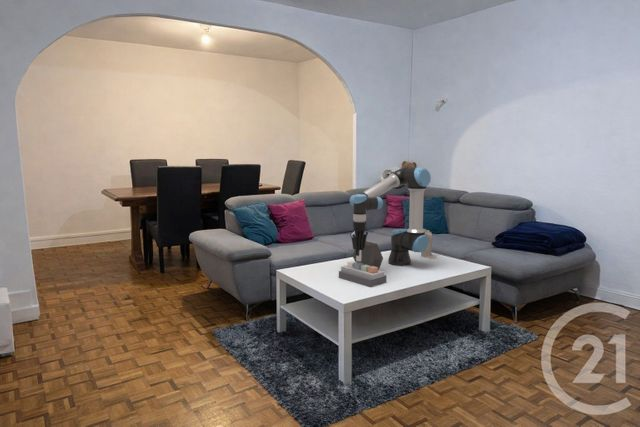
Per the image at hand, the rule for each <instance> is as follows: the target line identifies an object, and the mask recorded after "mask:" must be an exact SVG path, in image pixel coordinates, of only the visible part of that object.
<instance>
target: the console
mask: <svg viewBox="0 0 640 427" xmlns="http://www.w3.org/2000/svg"><path fill="white" fill-rule="evenodd" d="M338 278H339V279H342V280H345V281H349V282H352V283H356V284H359V285H361V286H364V287H367V288H372V287H376V286H378V285H382V284H385V283H387V275H386V274H385V271H383V270H380V269H379V270H378V273H374V274H373V273H369V272H368V271H367V272H365V271H362V270H361V269H360V270H358V269H354V268H351V267H347V264H346V265H341V267H340V270H339V271H338Z"/></svg>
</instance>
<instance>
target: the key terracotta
mask: <svg viewBox="0 0 640 427" xmlns="http://www.w3.org/2000/svg"><path fill="white" fill-rule="evenodd" d="M368 272H369V273H373V274H374V273H378V267H375V266H371V267H368Z"/></svg>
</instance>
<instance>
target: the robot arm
mask: <svg viewBox="0 0 640 427" xmlns="http://www.w3.org/2000/svg"><path fill="white" fill-rule="evenodd" d="M431 177H432V176H431V173H430V172H429V170H428V169H427V168H425V167H420V166H404V167H400V168H399V169H396V170H394V171H393V172H391V173H390V174H388V177H386V178H385V179H384V178H383V180H381V181H379V182H378V183H376V184H374V185H373V186H371V187H369V188H368V189H366V190H364V191H363V192H361V193H359V194H353V195H351V196H350V198H349V204H350V206H351V207H352V212H353V213H352V220H353V221H352V227H353V232H352V233H350V238H351V242H352V243H351V244H352V249H353V250H354V251H355V250H356V261H361V255H362V250H364V249H363V248H365V243H366V241H367V236H368V235H369V231H366V228H367V222H366V221H367V211H377V210H380V209H382V208H383V206H384V201H383V199H382V198H381V197H380V196H382V195H384V194H386V193H387V192H389V191H390V190H392V189H394V188H399V187H401V186H404V185H405V186H407V190H408V191H409V214H408V216H409V217H408V218H409V219H408V222H409V223H408V228H397V229H393V230H391V235H390V237H391V239H390V252H389V255H388V256H389V257H388V261H387V263H388V264H389V265H393V266H398V265H399V266H400V267H401V266H403V265H405V266H409V265H411V264H412V259H411V256H410V255H411V254H410V252H409V251H411V252H413V253H418V254H419V253H420V254H421V252H423V251H424V250H425V249H426V248H427V246H428V243H429V239H428V238H427V236H426V235H425V231H424V230H423V229H424V225H423V224H424V196H425V195H424V194H425V193H424V192H425V191H426V190H427V186H429V184H430V183H431Z"/></svg>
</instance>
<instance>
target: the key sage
mask: <svg viewBox="0 0 640 427" xmlns="http://www.w3.org/2000/svg"><path fill="white" fill-rule="evenodd" d="M368 267H371V266H369V265H362V266H361V270H362V271H365V272H367V271H368Z"/></svg>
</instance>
